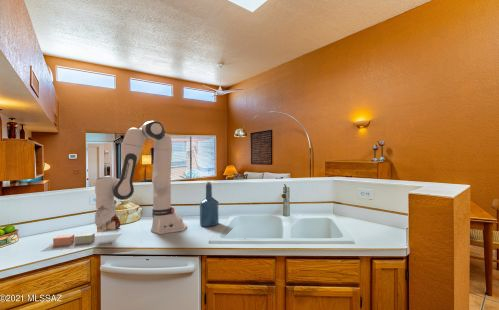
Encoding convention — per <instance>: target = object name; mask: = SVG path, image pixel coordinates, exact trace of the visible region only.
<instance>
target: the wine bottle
mask: <svg viewBox="0 0 499 310" xmlns="http://www.w3.org/2000/svg"><path fill="white" fill-rule="evenodd" d="M212 191H213V187H212V183H211V181H207V182H206V184H205V198H204V199H203V200H201V201H200V202H199V226H201V227H204V228H211V227H216V226H217V225H219V221H220V220H219V216H220V215H219V201H218V200H217V199H216V198H214V197H213V192H212Z"/></svg>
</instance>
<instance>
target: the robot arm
mask: <svg viewBox="0 0 499 310" xmlns="http://www.w3.org/2000/svg"><path fill="white" fill-rule="evenodd" d="M146 140H152V141H153V143H154V147H153V164H152V173H151V174H152V175H151V182H152V184H153V191H152V193H153V195H152V207H153V208H152V210H151V213H152V214H151V216H152V224H151V227H150V232H151V233H155V234H157V235H164V234H170V233H174V232H175V233H177V232H182V231H185V230H186V229H187V228H188V227H187V224H186V223H185V222H184V220H183V217H182V216H180V215H179V214H177V213H175V207H172V188H171V187H172V185H171V183H172V176H171V175H172V159H173V158H172V157H173V155H172V154H173V143H172V137H171V136H170V135H169V134H167V133H166V131H165V129H164V125H163V124H162V123H161V122H159V121H158V120H149V121H146V122H145V123H142V124H141V125H140V126H139V127H138V128H137V127H131V128H129V129H128V130H127V131H126V133H125V135H124V137H123V140H122V141H123V142H122V145H121V151H120V156H121V159H122V169H121V172H120V173H121V174H120V176H119V178H117V177H114V176H112V175H103V176H101V177H98V178H96V180H95V184H94V192H95V195H96V196H95V209H96V211H95V213H94V224H95V226H97V225H101V226H102V230H106V229H107V226H106V222H107V223H109V222H111V218H112V217H113V216H115V214H116V212H117V211H116V209H117V208H116V207H117V206H116V204H117V200H121V201H122V200H123V201H124V200H128V199H130V198H131V197H132V196H133V194H134V193H135V187H134V184H133V179H134V175H135V170H136V165H137V164H138V161H139V159H140V156H141V154H142V151H143V147H144V143H145V141H146ZM115 198H116V199H117V200H115Z"/></svg>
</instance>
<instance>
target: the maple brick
mask: <svg viewBox="0 0 499 310" xmlns="http://www.w3.org/2000/svg"><path fill="white" fill-rule="evenodd" d="M106 226H107V229H106V230H102V226H101V225H96V233H97V234H98V233H106V232H113V231H114V230H116V228H115V222H109V223H106Z"/></svg>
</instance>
